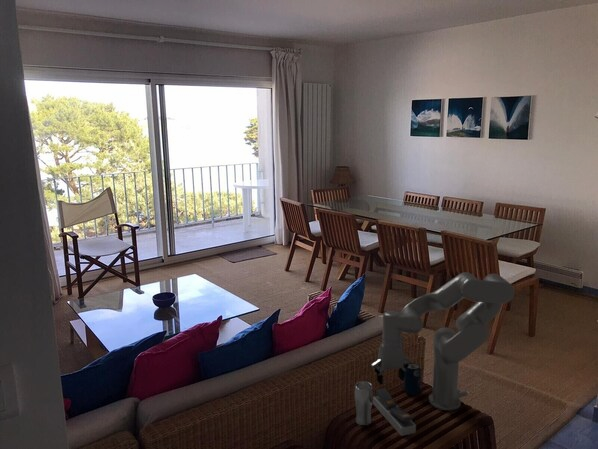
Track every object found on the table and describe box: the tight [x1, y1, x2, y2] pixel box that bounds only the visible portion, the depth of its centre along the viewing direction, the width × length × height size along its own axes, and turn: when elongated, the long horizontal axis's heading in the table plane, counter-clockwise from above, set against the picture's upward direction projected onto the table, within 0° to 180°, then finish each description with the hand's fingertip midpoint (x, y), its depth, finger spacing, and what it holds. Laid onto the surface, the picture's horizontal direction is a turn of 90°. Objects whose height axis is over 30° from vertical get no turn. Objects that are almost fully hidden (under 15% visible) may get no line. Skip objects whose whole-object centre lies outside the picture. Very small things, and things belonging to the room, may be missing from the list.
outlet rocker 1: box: [375, 387, 398, 409], centre depth 192 cm, size 4×10×1 cm, turn 18°
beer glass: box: [354, 380, 374, 426], centre depth 184 cm, size 7×7×15 cm
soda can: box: [403, 362, 422, 396], centre depth 205 cm, size 7×7×12 cm
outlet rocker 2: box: [390, 406, 414, 422], centre depth 181 cm, size 4×10×1 cm, turn 18°
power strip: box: [372, 395, 417, 437], centre depth 187 cm, size 23×6×3 cm, turn 18°
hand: (390, 381), depth 196 cm, fingers open, 9 cm apart
